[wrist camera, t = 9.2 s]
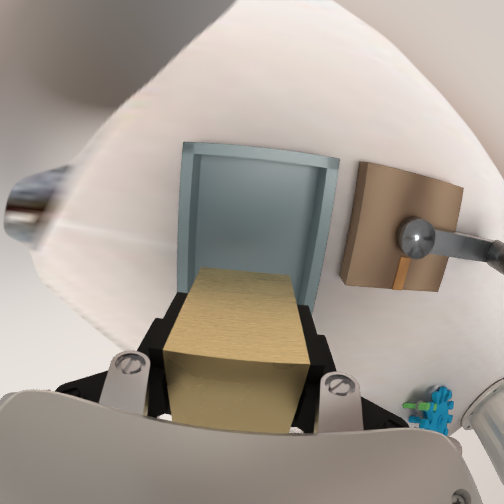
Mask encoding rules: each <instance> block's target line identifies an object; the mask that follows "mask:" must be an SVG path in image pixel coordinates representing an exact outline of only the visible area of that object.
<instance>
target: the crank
mask: <svg viewBox="0 0 504 504" xmlns="http://www.w3.org/2000/svg"><path fill="white" fill-rule="evenodd" d="M397 244H398V246H399V248H400V250H401V251H402V252H404V253H405V254H406V255H408V256H409V257H410V258H412V259H421V258H424V257H425V256H427V255H428V254H434V255H441V256H448V257H455V258H462V259H469V260H475V261H482V262H487V263H488V265H489V266H491V267H493V268H494V269H496V270H497V271H499V272H500V273H502V274H503V275H504V243H503V242H501V241H499V240H495V241H494V240H490V239H485V238H481V237H477V236H472V235H468V234H463V233H458V232H454V231H449V230H444V229H439V228H434V227H433V226H432V224H431V223H429V222H428V221H426V220H424V219H422V218H419V217H410V218H408V219H406V220H405V221H404V222H403V223H402V224H401V225H400V227H399V229H398V232H397Z"/></svg>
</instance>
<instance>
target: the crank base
mask: <svg viewBox="0 0 504 504" xmlns="http://www.w3.org/2000/svg"><path fill="white" fill-rule="evenodd" d="M463 189H464V188H462V187H459V186H456V185H453V184H450V183H447V182H443V181H440V180H437V179H433V178H430V177H426V176H422V175H419V174H415V173H411V172H407V171H404V170H400V169H395V168H391V167H387V166H383V165H378V164H374V163H369V162H360V163H359V170H358V177H357V184H356V191H355V197H354V203H353V209H352V215H351V221H350V226H349V232H348V237H347V242H346V247H345V252H344V257H343V261H342V266H341V270H340V275H339V276H340V277H341V279H342V281H343V282H344V284H345V285H349V286H361V287H374V288H387V289H392V290H416V291H432V292H438V290H439V287H440V284H441V281H442V278H443V275H444V271H445V268H446V265H447V261H448V258H449V257H448V256H441V255H434V254H428V255H427V256H425V257H424V258H421V259H412V258H410V257H409V256H408V255H406V254H405V253H404V252H402V251H401V250H400V248H399V246H398V244H397V232H398V229H399V227H400V225H401V224H402V223H403V222H404V221H405V220H406V219H408V218H410V217H419V218H422V219H424V220H426V221H428V222H429V223H431V224H432V226H433V227H434V228H439V229H444V230H449V231H454V232H455V230H456V226H457V221H458V217H459V212H460V206H461V201H462V195H463Z"/></svg>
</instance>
